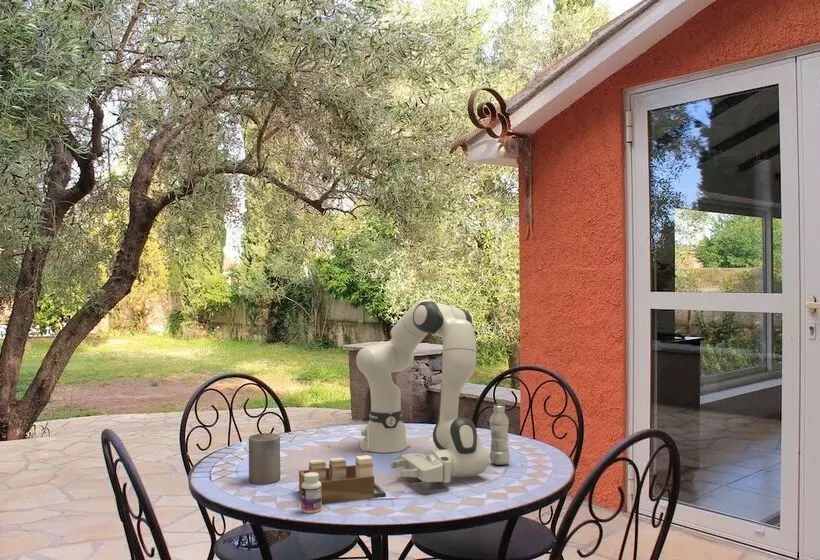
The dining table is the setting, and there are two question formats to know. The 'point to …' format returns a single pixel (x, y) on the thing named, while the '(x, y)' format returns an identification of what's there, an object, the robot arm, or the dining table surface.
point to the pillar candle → (264, 458)
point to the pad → (428, 487)
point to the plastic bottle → (499, 436)
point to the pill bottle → (311, 493)
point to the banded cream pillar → (364, 466)
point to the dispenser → (341, 481)
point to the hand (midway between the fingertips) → (396, 469)
